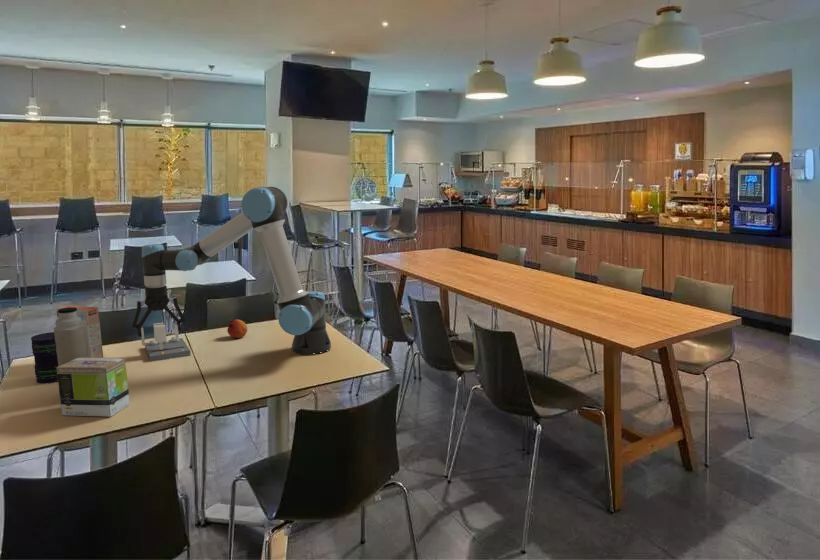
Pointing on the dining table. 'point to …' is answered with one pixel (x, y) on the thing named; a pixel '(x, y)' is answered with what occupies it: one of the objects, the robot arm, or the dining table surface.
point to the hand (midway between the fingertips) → (160, 342)
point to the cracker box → (90, 329)
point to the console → (167, 349)
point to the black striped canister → (45, 357)
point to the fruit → (237, 329)
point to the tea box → (93, 386)
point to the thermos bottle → (69, 336)
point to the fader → (159, 334)
